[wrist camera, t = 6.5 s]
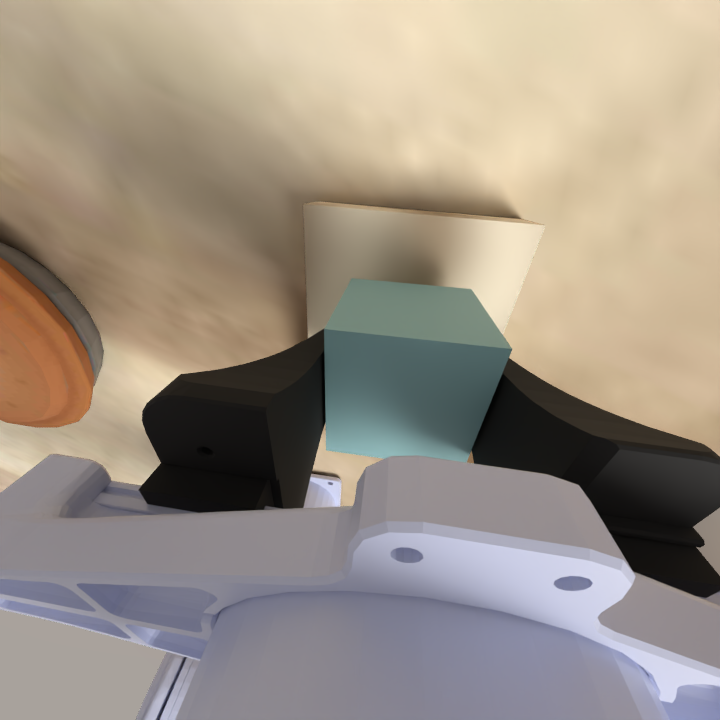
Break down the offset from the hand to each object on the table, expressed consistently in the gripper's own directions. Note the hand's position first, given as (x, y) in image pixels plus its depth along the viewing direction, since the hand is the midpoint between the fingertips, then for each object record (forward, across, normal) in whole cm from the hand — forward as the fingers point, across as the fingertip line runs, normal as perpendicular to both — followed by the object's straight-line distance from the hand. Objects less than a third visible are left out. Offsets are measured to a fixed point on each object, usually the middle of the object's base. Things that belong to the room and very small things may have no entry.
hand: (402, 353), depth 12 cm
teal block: (+2, 0, 0) cm, 2 cm away
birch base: (+5, 0, 0) cm, 5 cm away
